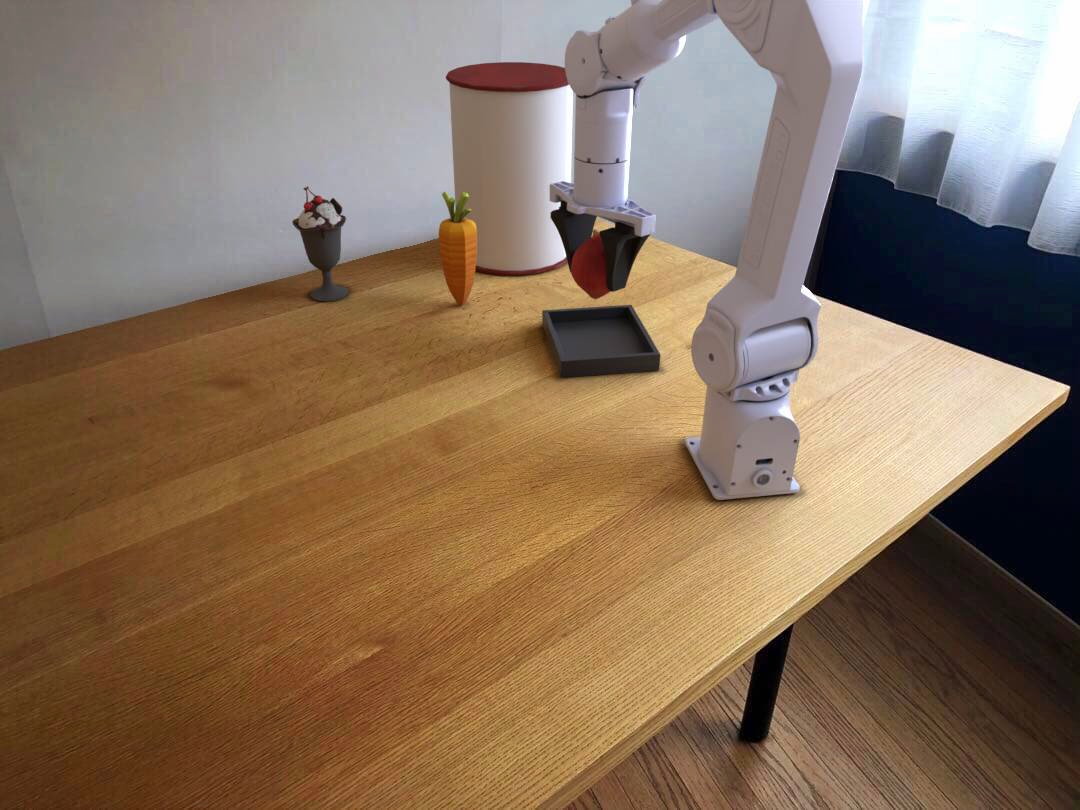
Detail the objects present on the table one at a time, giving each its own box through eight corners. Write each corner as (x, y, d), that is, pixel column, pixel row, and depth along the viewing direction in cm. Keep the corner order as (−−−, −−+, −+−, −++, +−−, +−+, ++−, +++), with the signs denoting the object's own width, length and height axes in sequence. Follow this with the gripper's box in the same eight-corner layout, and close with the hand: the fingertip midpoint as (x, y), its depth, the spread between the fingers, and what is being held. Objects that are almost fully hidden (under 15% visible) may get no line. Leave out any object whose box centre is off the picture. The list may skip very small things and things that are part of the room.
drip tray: (659, 370, 96) (660, 354, 95) (560, 378, 95) (561, 361, 94) (630, 319, 107) (631, 304, 106) (542, 325, 106) (542, 310, 105)
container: (581, 272, 120) (587, 85, 107) (458, 279, 118) (448, 89, 105) (562, 230, 135) (565, 60, 122) (451, 234, 133) (443, 63, 120)
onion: (622, 288, 99) (626, 221, 94) (621, 310, 94) (626, 240, 90) (572, 286, 99) (573, 219, 95) (568, 307, 94) (570, 238, 90)
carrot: (436, 301, 112) (429, 187, 104) (472, 294, 114) (467, 182, 106) (449, 316, 108) (443, 199, 100) (486, 309, 110) (482, 194, 102)
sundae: (304, 307, 110) (287, 192, 102) (302, 286, 116) (285, 176, 108) (356, 301, 112) (343, 188, 104) (352, 281, 117) (339, 172, 109)
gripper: (527, 148, 91) (528, 268, 98) (622, 180, 81) (615, 311, 88) (577, 137, 95) (574, 254, 102) (674, 167, 85) (663, 293, 92)
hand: (596, 279), depth 95 cm, fingers closed on onion, 6 cm apart
